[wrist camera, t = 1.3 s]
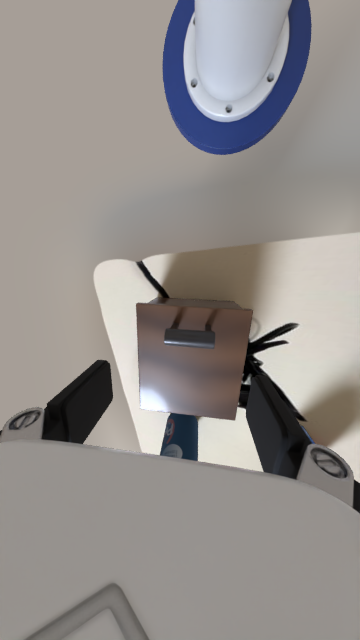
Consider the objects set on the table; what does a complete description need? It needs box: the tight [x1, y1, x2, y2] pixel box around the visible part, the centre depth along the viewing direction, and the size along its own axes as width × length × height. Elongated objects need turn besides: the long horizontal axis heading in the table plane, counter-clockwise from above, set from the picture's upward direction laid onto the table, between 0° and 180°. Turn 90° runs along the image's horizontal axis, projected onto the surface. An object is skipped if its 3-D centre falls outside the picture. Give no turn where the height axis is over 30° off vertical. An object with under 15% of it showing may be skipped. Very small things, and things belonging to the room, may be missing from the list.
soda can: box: [160, 413, 198, 461], centre depth 33 cm, size 7×7×12 cm
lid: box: [136, 303, 253, 420], centre depth 21 cm, size 16×14×6 cm
